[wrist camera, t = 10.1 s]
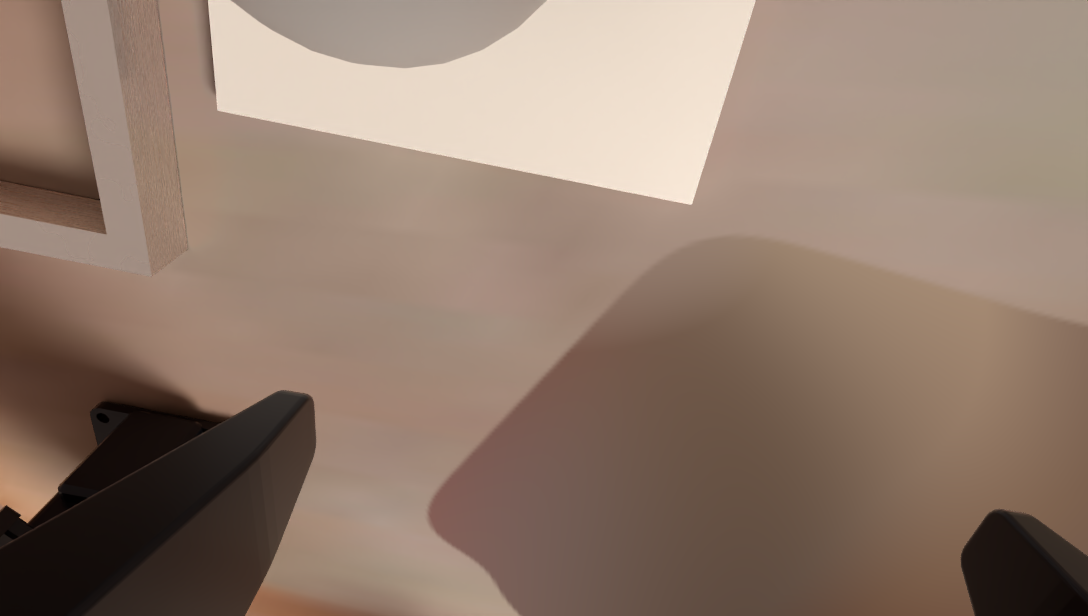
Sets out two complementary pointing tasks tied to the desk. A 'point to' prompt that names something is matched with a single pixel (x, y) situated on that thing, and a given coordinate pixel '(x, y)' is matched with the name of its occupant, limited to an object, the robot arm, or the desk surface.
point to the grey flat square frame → (111, 151)
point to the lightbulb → (392, 27)
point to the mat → (517, 91)
